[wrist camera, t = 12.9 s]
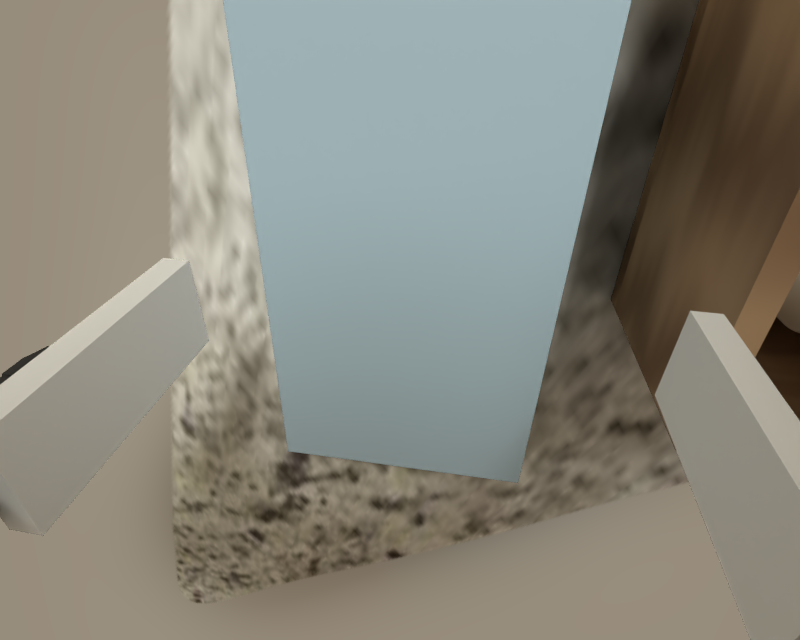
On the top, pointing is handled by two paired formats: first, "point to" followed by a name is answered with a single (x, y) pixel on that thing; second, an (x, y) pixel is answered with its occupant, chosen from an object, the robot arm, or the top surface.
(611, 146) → the top surface
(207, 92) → the top surface
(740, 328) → the box
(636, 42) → the top surface
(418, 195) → the light blue block
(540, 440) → the top surface
